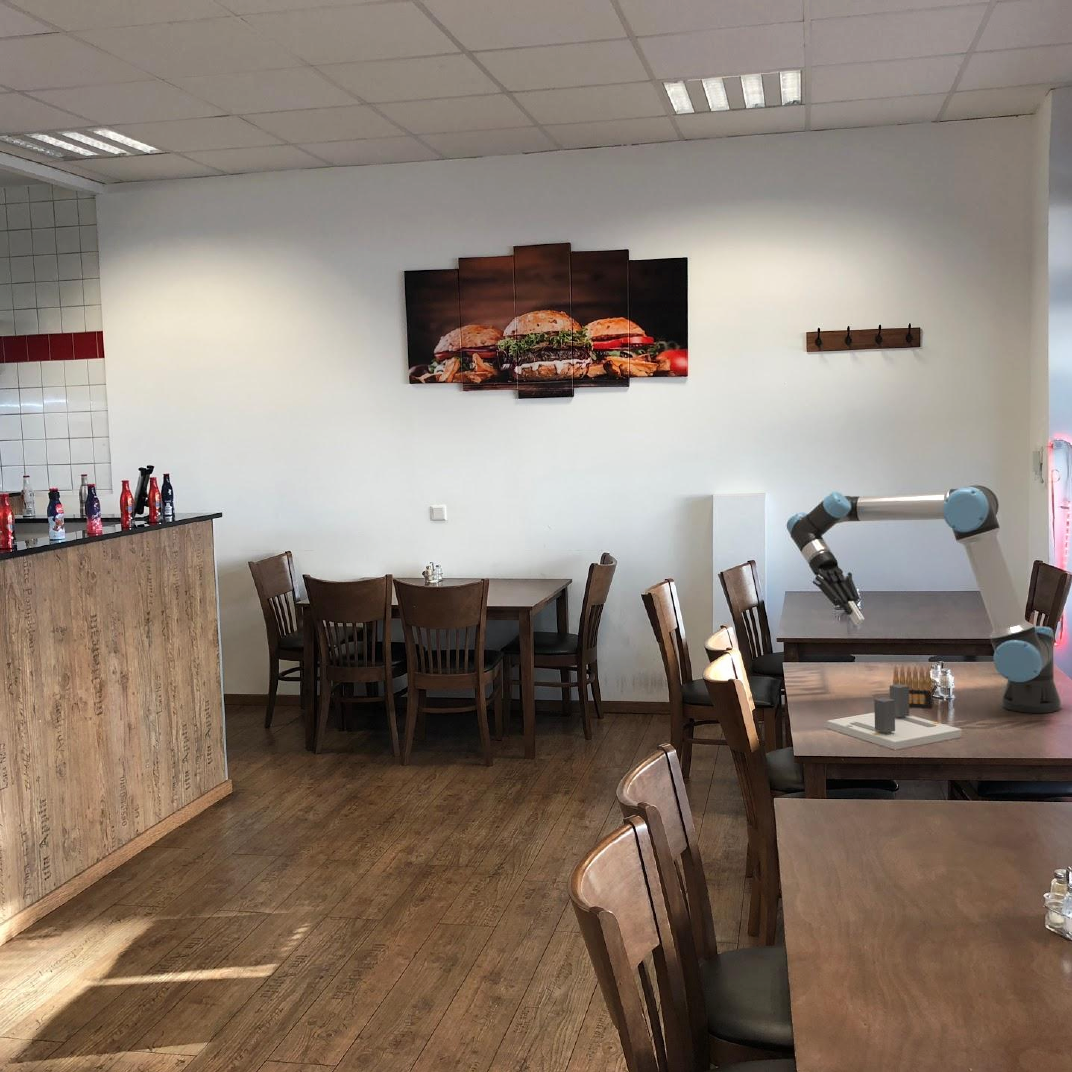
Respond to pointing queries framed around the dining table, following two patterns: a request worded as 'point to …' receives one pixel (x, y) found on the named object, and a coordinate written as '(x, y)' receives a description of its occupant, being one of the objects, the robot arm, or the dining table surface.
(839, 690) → the dining table surface
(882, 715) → the block
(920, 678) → the ammunition clip
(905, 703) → the block
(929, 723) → the switch panel
